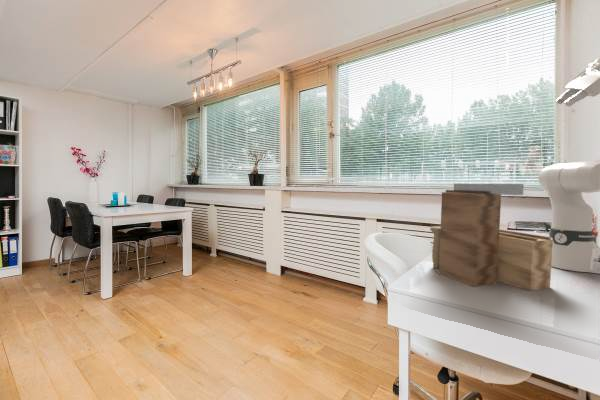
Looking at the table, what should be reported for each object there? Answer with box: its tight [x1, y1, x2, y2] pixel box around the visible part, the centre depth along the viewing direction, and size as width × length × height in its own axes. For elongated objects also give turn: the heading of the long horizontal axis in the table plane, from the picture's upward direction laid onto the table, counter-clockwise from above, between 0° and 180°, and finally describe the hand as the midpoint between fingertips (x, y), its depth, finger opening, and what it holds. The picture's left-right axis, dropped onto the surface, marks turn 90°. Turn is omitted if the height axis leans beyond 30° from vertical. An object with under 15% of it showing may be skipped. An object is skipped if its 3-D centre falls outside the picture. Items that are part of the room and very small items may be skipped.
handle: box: [430, 225, 441, 270], centre depth 105 cm, size 5×6×15 cm
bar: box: [453, 182, 525, 196], centre depth 88 cm, size 3×20×3 cm, turn 20°
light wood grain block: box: [497, 228, 553, 292], centre depth 92 cm, size 9×15×15 cm, turn 20°
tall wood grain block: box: [438, 189, 502, 288], centre depth 94 cm, size 10×13×29 cm
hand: (561, 103), depth 91 cm, fingers open, 8 cm apart
